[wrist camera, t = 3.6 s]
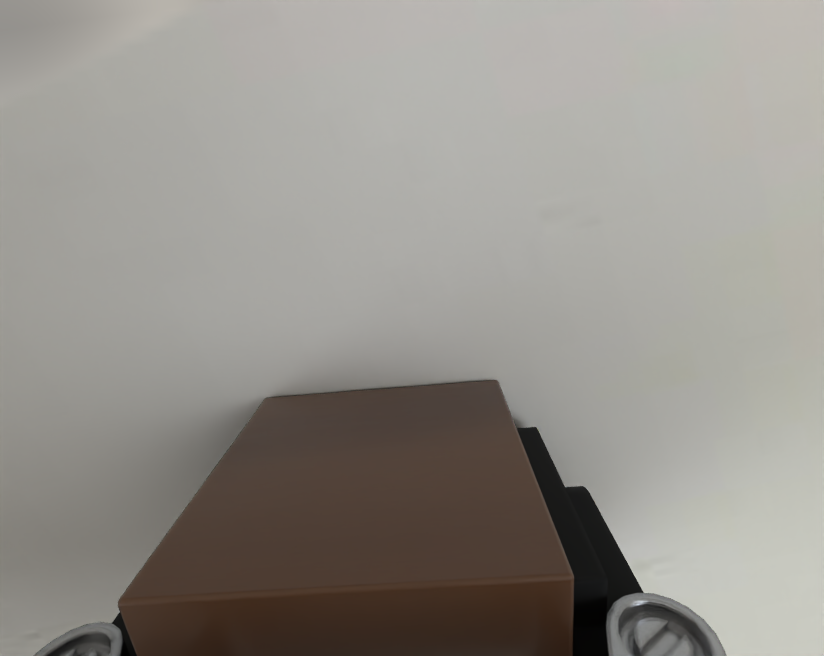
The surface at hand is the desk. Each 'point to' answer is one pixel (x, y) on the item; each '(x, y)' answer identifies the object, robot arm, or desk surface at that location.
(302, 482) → the block
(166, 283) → the desk surface
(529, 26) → the desk surface
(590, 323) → the desk surface
